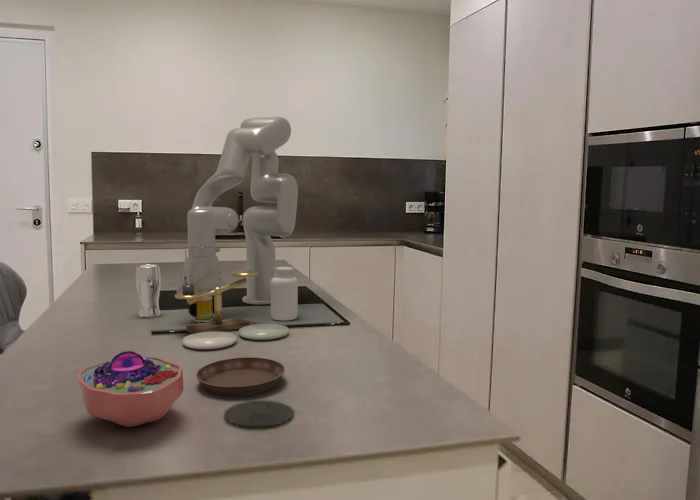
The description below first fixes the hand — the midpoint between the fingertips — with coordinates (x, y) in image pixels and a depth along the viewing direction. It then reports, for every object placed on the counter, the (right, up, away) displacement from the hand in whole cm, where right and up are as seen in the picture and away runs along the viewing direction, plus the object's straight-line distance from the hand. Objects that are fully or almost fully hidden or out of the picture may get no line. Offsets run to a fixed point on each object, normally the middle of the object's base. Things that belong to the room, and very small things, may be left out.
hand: (203, 313), depth 173 cm
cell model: (+5, -11, -69) cm, 70 cm away
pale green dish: (+20, -4, -15) cm, 25 cm away
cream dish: (+7, -5, -23) cm, 25 cm away
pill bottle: (+23, -2, +4) cm, 23 cm away
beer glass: (-18, -1, +6) cm, 19 cm away
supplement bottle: (0, -2, 0) cm, 2 cm away
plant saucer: (+20, -9, -51) cm, 56 cm away
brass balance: (+6, -3, -9) cm, 11 cm away
